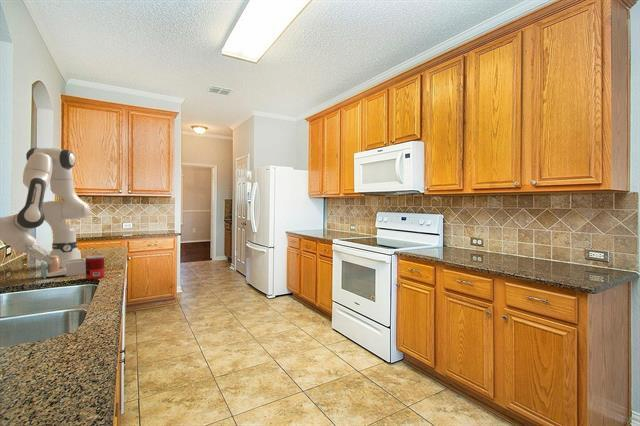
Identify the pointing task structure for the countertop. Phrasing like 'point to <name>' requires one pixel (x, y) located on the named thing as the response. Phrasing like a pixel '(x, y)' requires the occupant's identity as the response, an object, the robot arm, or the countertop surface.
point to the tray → (46, 274)
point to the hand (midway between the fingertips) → (52, 261)
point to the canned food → (95, 267)
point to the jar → (54, 264)
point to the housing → (74, 267)
